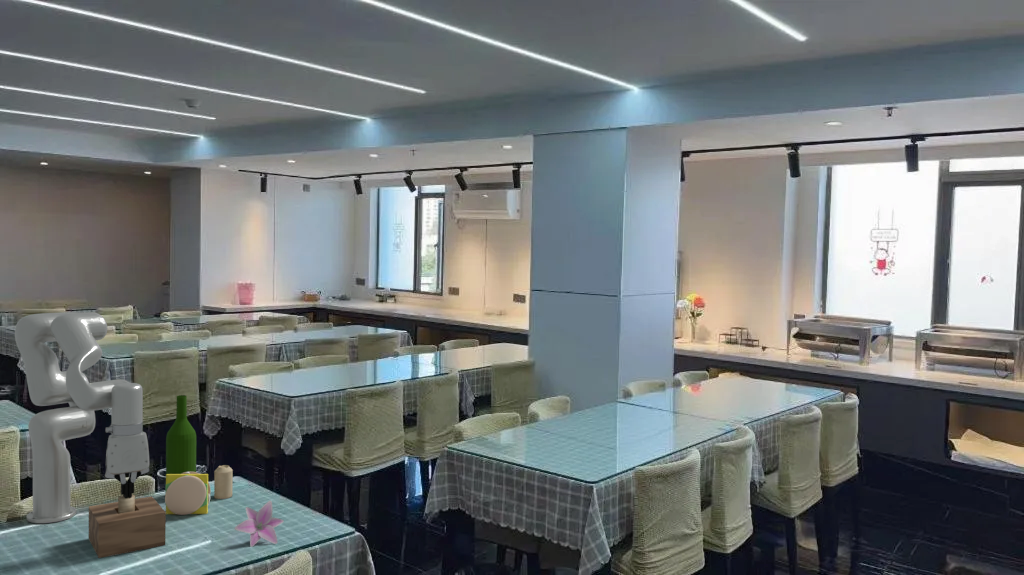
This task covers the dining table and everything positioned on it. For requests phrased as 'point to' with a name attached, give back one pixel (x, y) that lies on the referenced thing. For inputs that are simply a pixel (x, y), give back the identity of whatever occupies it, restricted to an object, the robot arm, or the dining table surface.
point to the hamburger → (187, 493)
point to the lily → (260, 524)
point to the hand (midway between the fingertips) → (127, 496)
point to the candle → (223, 482)
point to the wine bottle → (181, 442)
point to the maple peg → (126, 504)
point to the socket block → (126, 527)
